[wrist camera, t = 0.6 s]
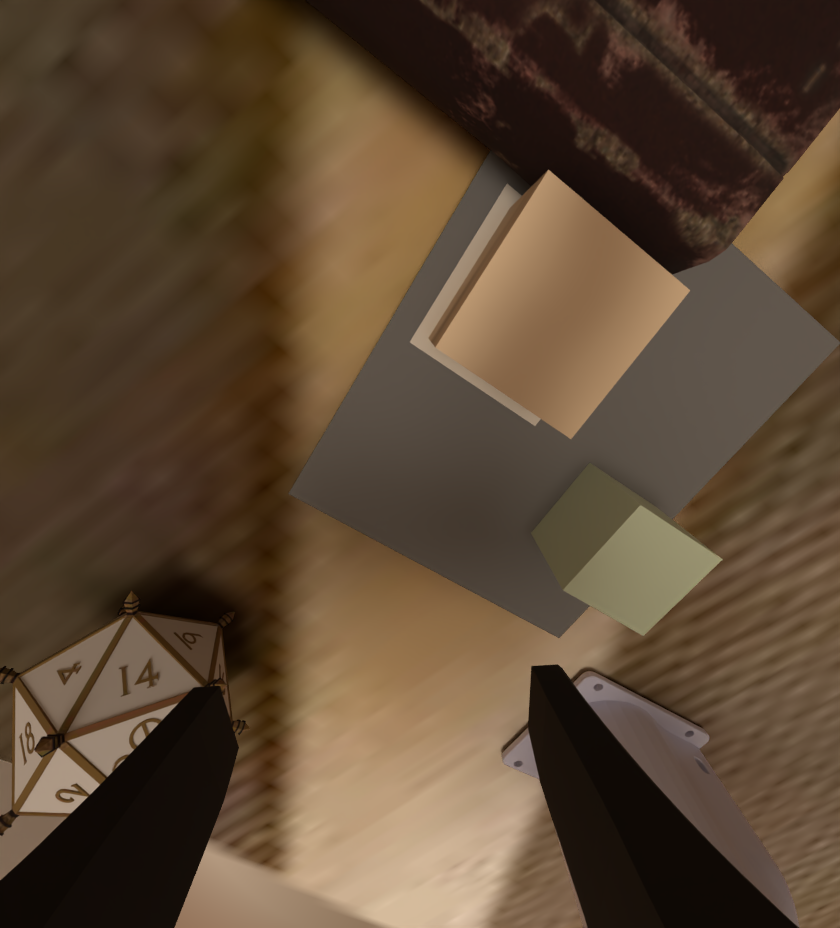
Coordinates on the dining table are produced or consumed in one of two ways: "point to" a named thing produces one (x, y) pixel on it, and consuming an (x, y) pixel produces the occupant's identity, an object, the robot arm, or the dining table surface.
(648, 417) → the mat
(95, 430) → the dining table surface
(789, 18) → the diary
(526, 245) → the beech block
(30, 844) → the milk
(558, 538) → the sage cube
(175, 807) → the robot arm
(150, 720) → the game die
